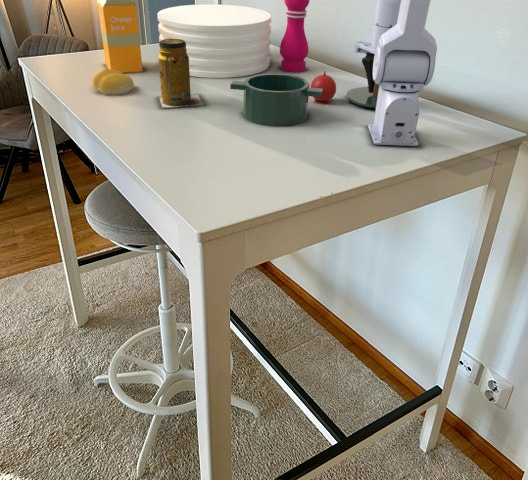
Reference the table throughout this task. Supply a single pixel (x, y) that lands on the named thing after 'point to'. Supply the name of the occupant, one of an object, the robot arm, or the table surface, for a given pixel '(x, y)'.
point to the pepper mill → (294, 37)
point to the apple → (324, 88)
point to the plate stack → (220, 38)
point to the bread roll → (112, 82)
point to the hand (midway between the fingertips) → (378, 93)
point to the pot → (276, 98)
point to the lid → (364, 96)
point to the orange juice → (120, 35)
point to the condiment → (175, 75)
